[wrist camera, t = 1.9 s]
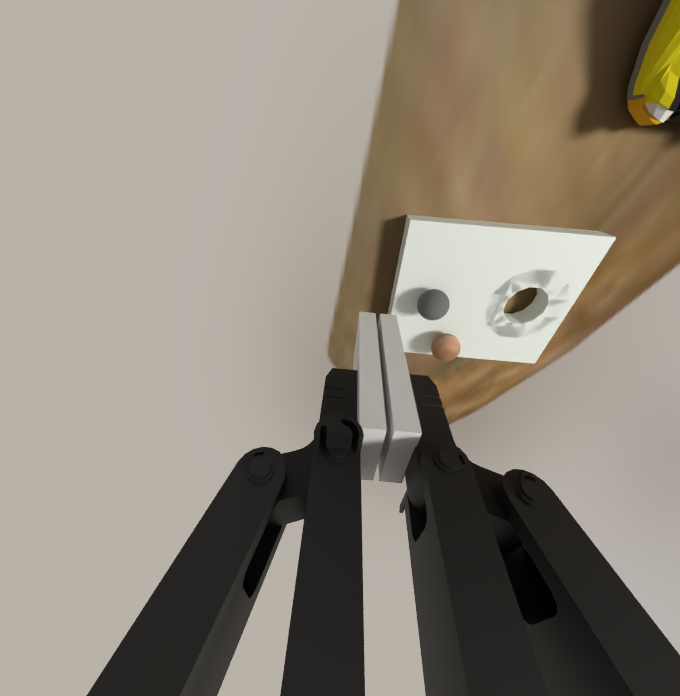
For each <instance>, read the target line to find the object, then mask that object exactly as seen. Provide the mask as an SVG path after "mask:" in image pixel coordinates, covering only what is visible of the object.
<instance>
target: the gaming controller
mask: <svg viewBox="0 0 680 696" xmlns="http://www.w3.org/2000/svg"><path fill="white" fill-rule="evenodd" d="M627 104H628V110H629V112H630V113H631V115H632V117H633V118H634V120H635V121H636V123H638V124H639V125H640V126H645V125H657V124H659V123H662V122H666V123H674V124H680V0H663V2H662V4H661V6H660V8H659V10H658V12H657V14H656V16H655V18H654V20H653V22H652V24H651V27H650V29H649V31H648V33H647V35H646V37H645V39H644V41H643V43H642V45H641V48H640V51H639V54H638V57H637V60H636V64H635V67H634V70H633V73H632V76H631V79H630V82H629V85H628V91H627Z"/></svg>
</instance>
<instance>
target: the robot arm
mask: <svg viewBox="0 0 680 696" xmlns="http://www.w3.org/2000/svg"><path fill="white" fill-rule="evenodd" d="M439 397H440V396H439V393H438V390H437V387H436V385H435V384H434V383H433V381H432V380H431V379H430V378H429V377H428V376H423V375H412V374H409V371H408V367H407V362H406V358H405V353H404V348H403V344H402V339H401V335H400V330H399V325H398V321H397V316H396V315H391V314H380V317H379V323H378V328H377V323H376V313H368V312H359V320H358V328H357V336H356V344H355V352H354V369H353V370H347V369H336V368H332V369H331V371H330V372H329V374H328V375H327V376H326V380H325V386H324V393H323V400H322V407H321V414H320V421H319V422H318V423H317V425H316V428H315V430H314V440H313V441H312V442H311V443H310V444H309V445H307V446H306V447H304V448H302V449H299V450H296V451H292V452H288V453H283V454H281V453H280V452H279V451H277V450H275V449H273V448H269V447H260V448H257V449H253V450H251V451H249V452H248V453H246V454H245V455H244V456H243V457H242V458H241V459H240V460H239V461H238V463H237V464H236V466H235V467H234V469H233V470H232V472H231V473H230V475H229V477H228V478H227V480H226V481H225V483H224V484H223V486H222V487H221V489H220V490H219V492H218V493H217V495H216V497H215V498H214V500H213V501H212V503H211V504H210V506H209V508H208V509H207V510H206V512H205V514H204V515H203V517H202V518H201V520H200V521H199V523H198V524H197V526H196V527H195V529H194V531H193V532H192V534H191V535H190V537H189V538H188V540H187V541H186V543H185V545H184V546H183V548H182V549H181V551H180V552H179V554H178V555H177V557H176V558H175V560H174V561H173V563H172V565H171V566H170V568H169V569H168V571H167V572H166V574H165V575H164V577H163V579H162V580H161V582H160V583H159V585H158V586H157V588H156V589H155V591H154V593H153V594H152V595H151V597H150V599H149V600H148V602H147V603H146V605H145V606H144V608H143V609H142V611H141V612H140V614H139V616H138V617H137V619H136V620H135V622H134V623H133V625H132V626H131V628H130V630H129V631H128V633H127V634H126V636H125V638H124V639H123V640H122V642H121V643H120V645H119V647H118V648H117V650H116V651H115V653H114V654H113V656H112V657H111V659H110V661H109V662H108V664H107V665H106V667H105V668H104V670H103V671H102V673H101V674H100V676H99V678H98V679H97V681H96V682H95V684H94V685H93V687H92V688H91V690H90V691H89V693H88V694H87V696H217V694H218V692H219V689H220V687H221V685H222V682H223V680H224V677H225V674H226V672H227V670H228V667H229V665H230V662H231V660H232V657H233V655H234V653H235V650H236V648H237V645H238V642H239V640H240V638H241V635H242V633H243V630H244V628H245V625H246V623H247V621H248V618H249V616H250V613H251V610H252V608H253V606H254V603H255V601H256V598H257V596H258V593H259V591H260V589H261V586H262V584H263V581H264V578H265V576H266V574H267V571H268V569H269V566H270V564H271V561H272V559H273V557H274V554H275V552H276V549H277V547H278V544H279V542H280V539H281V537H282V534H283V532H284V529H285V527H286V524H288V523H291V522H295V521H298V520H302V519H304V525H303V533H302V540H301V547H300V555H299V562H298V570H297V577H296V585H295V592H294V599H293V606H292V614H291V621H290V628H289V636H288V644H287V650H286V658H285V665H284V673H283V680H282V687H281V695H280V696H365V678H364V628H363V627H364V626H363V569H362V517H361V514H362V513H361V479H363V480H373V478H374V475H375V471H376V467H377V464H378V467H379V481H385V482H395V483H402V481H403V479H404V476H405V477H406V485H407V491H406V493H405V495H404V497H403V500H402V502H401V504H400V511H399V512H400V513H403V511H404V509H405V513H406V523H407V531H408V540H409V549H410V557H411V567H412V576H413V585H414V594H415V602H416V611H417V621H418V629H419V639H420V648H421V656H422V665H423V674H424V682H425V692H426V696H680V655H679V654H678V652H677V651H676V650H675V649H674V647H673V646H672V645H671V643H670V642H669V641H668V639H667V638H666V637H665V636H664V634H663V633H662V632H661V630H660V629H659V628H658V626H657V625H656V624H655V623H654V621H653V620H652V619H651V618H650V616H649V615H648V614H647V612H646V611H645V610H644V608H643V607H642V606H641V604H640V603H639V602H638V601H637V600H636V598H635V597H634V596H633V594H632V593H631V592H630V590H629V589H628V588H627V587H626V586H625V584H624V583H623V581H622V580H621V579H620V577H619V576H618V575H617V573H616V572H615V571H614V569H613V568H612V567H611V566H610V564H609V563H608V562H607V561H606V559H605V558H604V557H603V555H602V554H601V553H600V551H599V550H598V549H597V548H596V546H595V545H594V544H593V542H592V541H591V540H590V538H589V537H588V536H587V535H586V533H585V532H584V531H583V530H582V528H581V527H580V525H579V524H578V523H577V522H576V520H575V519H574V518H573V516H572V515H571V514H570V513H569V511H568V510H567V509H566V507H565V506H564V505H563V504H562V502H561V501H560V500H559V498H558V497H557V496H556V495H555V493H554V492H553V490H552V489H551V488H550V487H549V486H548V485H547V484H546V483H545V482H544V481H543V480H541V479H540V478H538V477H537V476H535V475H534V474H532V473H530V472H527V471H524V470H519V469H513V470H511V471H508V472H506V474H505V475H504V476H503V475H501V474H498V473H495V472H492V471H490V470H488V469H485V468H483V467H480V466H478V465H476V464H474V463H472V462H471V461H469V459H468V458H467V456H466V454H465V453H464V452H462V450H461V449H460V448H458V447H457V446H456V445H455V442H454V440H453V437H452V434H451V431H450V428H449V424H448V421H447V418H446V415H445V412H444V409H443V408H442V402H441V399H440V398H439Z"/></svg>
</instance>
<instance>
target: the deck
mask: <svg viewBox="0 0 680 696" xmlns="http://www.w3.org/2000/svg"><path fill="white" fill-rule="evenodd" d="M615 239H616V237H614V236H611V235H609V234H606V233H603V232H600V231H594V230H582V229H570V228H558V227H547V226H535V225H523V224H511V223H500V222H488V221H476V220H464V219H453V218H441V217H429V216H418V215H407V217H406V222H405V228H404V233H403V238H402V243H401V248H400V253H399V258H398V263H397V268H396V273H395V279H394V284H393V289H392V294H391V299H390V304H389V309H388V314H391V315H396V316H397V321H398V325H399V330H400V335H401V339H402V344H403V348H404V352H411V353H422V354H432V352H431V343H432V341H433V339H434V338H435V337H436V336H438V335H440V334H444V333H448V334H451V335H454V336H455V337H456V338H457V339H458V340H459V342H460V346H461V349H460V353H459V354H458V356H457V357H467V358H478V359H489V360H500V361H512V362H523V363H534V364H535V362H536V361H537V359H538V358H539V356H540V355H541V353H542V352H543V350H544V348H545V347H546V345H547V344H548V342H549V341H550V339H551V338H552V336H553V335H554V333H555V332H556V330H557V328H558V327H559V325H560V324H561V322H562V321H563V319H564V318H565V316H566V315H567V313H568V311H569V310H570V308H571V307H572V305H573V304H574V302H575V301H576V299H577V298H578V296H579V295H580V293H581V291H582V290H583V288H584V287H585V285H586V284H587V282H588V281H589V279H590V278H591V276H592V274H593V273H594V271H595V270H596V268H597V267H598V265H599V264H600V262H601V261H602V259H603V258H604V256H605V254H606V253H607V251H608V250H609V248H610V247H611V245H612V244H613V242H614V241H615ZM529 287H534V288H537V295H536V296H535V298H534V300H533V302H532V303H531V304H530V305H529V306H527V307H526V308H525V309H524V310H522V311H519V312H516V313H513V314H511V313H504V311H503V309H504V307H505V305H506V303H507V301H508V299H509V298H511V297H512V296H513V295H514V294H515V293H516V292H518V291H521V290H523V289H526V288H529ZM430 289H438V290H441V291H443V292H444V293H445V294H446V295H447V296H448V298H449V302H450V306H449V310H448V312H447V313H446V315H445V316H443V317H442V318H440V319H438V320H427V319H425V318H423V317H422V316H421V315H420V314H419V312H418V309H417V302H418V299H419V297H420V296H421V295H422V294H423V293H424V292H425V291H427V290H430Z"/></svg>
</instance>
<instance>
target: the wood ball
mask: <svg viewBox="0 0 680 696" xmlns="http://www.w3.org/2000/svg"><path fill="white" fill-rule="evenodd" d="M460 349H461V346H460V342H459V340H458V339H457V338H456V337H455V336H454V335H451V334H448V333H444V334H440V335H438V336H436V337H435V338H434V339H433V341H432V343H431V352H432V354H433V355H434V357H435V358H437V359H438V360H441V361H450V360H453V359H455V358H456V357H457V356H458V354H459V353H460Z"/></svg>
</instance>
